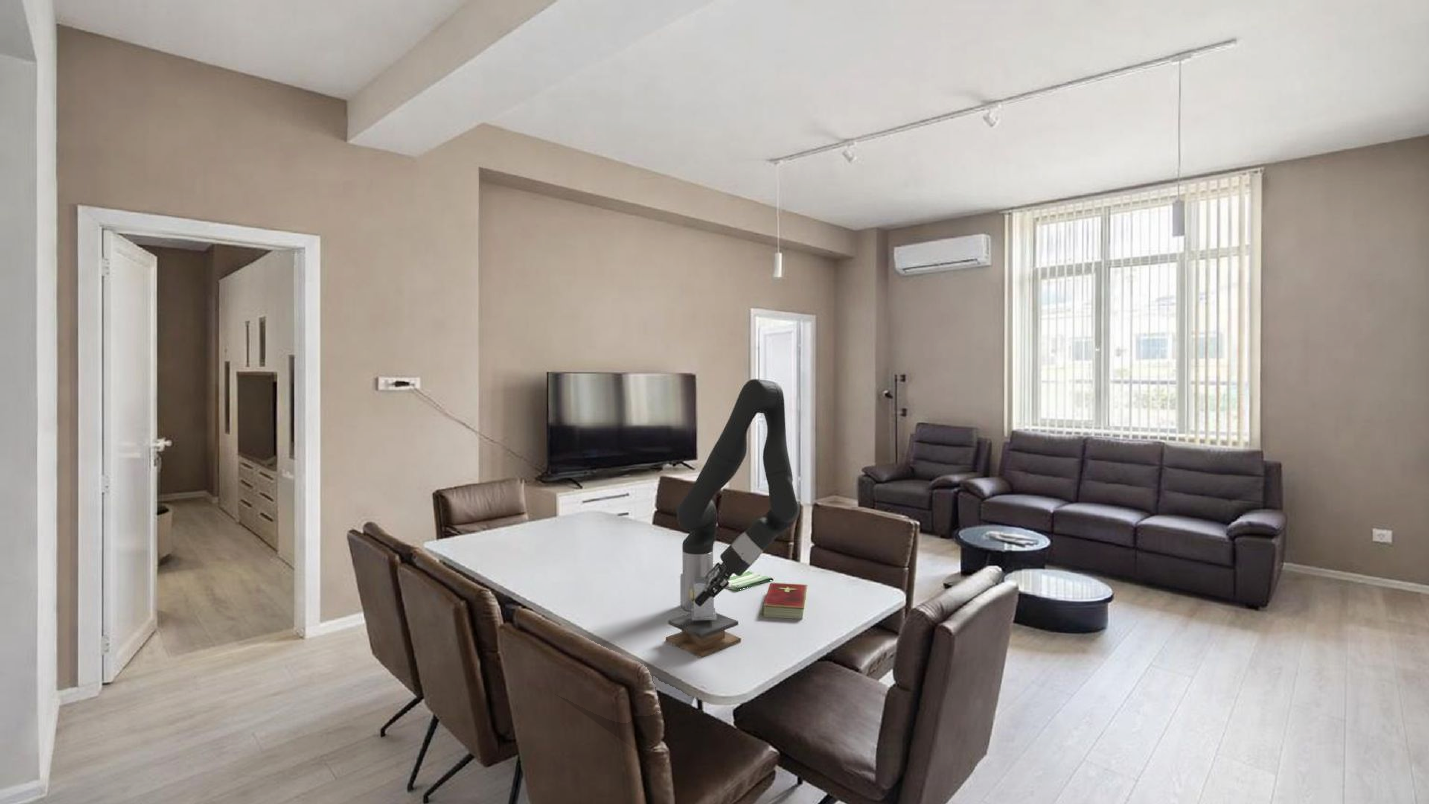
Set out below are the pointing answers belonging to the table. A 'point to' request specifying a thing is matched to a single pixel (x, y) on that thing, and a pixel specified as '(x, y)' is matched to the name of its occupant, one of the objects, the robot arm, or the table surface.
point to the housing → (707, 608)
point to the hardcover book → (785, 601)
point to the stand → (703, 634)
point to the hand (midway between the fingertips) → (696, 600)
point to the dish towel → (746, 580)
